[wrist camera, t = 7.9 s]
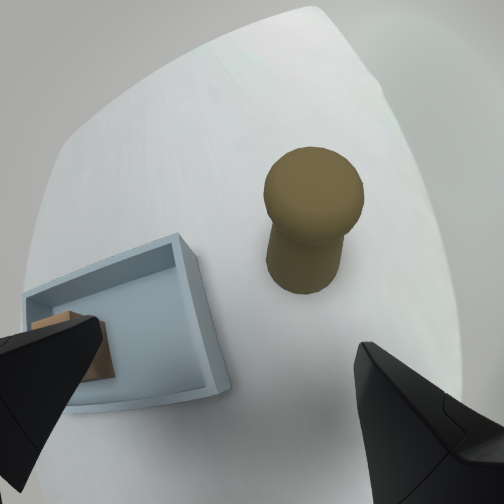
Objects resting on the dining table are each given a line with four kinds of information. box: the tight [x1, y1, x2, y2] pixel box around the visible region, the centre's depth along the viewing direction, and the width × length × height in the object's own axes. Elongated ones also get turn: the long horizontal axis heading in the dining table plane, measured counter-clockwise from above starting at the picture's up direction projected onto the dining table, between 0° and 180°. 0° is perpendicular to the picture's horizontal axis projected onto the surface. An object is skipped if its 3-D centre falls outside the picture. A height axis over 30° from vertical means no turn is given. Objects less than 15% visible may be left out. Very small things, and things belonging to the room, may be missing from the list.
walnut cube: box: [31, 310, 115, 383], centre depth 18 cm, size 5×5×5 cm
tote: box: [22, 233, 232, 414], centre depth 19 cm, size 11×17×5 cm, turn 107°
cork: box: [264, 147, 364, 294], centre depth 17 cm, size 6×6×11 cm
